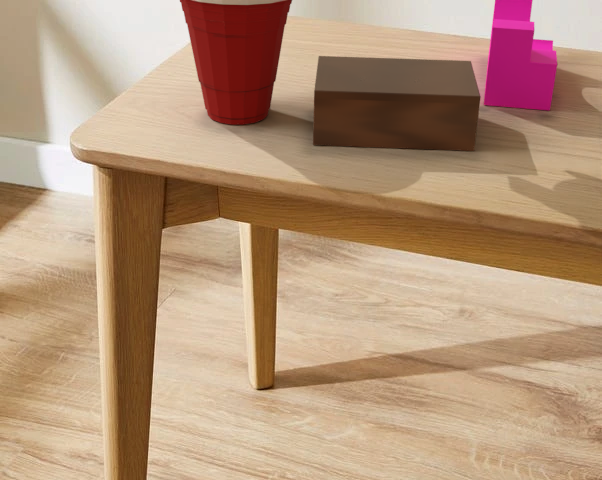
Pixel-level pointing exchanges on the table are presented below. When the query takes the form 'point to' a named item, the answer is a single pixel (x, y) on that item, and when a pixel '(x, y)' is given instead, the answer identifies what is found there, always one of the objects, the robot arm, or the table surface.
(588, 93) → the table surface
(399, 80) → the block
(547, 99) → the toy block
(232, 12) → the plastic cup
